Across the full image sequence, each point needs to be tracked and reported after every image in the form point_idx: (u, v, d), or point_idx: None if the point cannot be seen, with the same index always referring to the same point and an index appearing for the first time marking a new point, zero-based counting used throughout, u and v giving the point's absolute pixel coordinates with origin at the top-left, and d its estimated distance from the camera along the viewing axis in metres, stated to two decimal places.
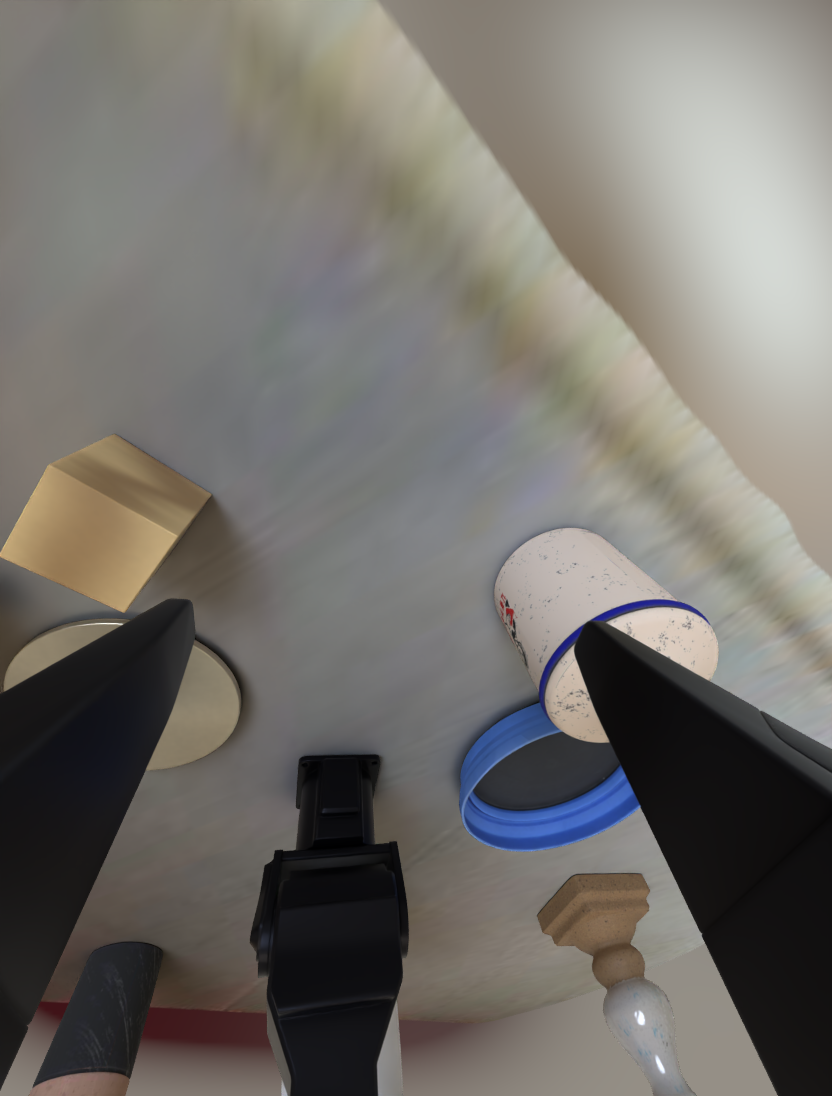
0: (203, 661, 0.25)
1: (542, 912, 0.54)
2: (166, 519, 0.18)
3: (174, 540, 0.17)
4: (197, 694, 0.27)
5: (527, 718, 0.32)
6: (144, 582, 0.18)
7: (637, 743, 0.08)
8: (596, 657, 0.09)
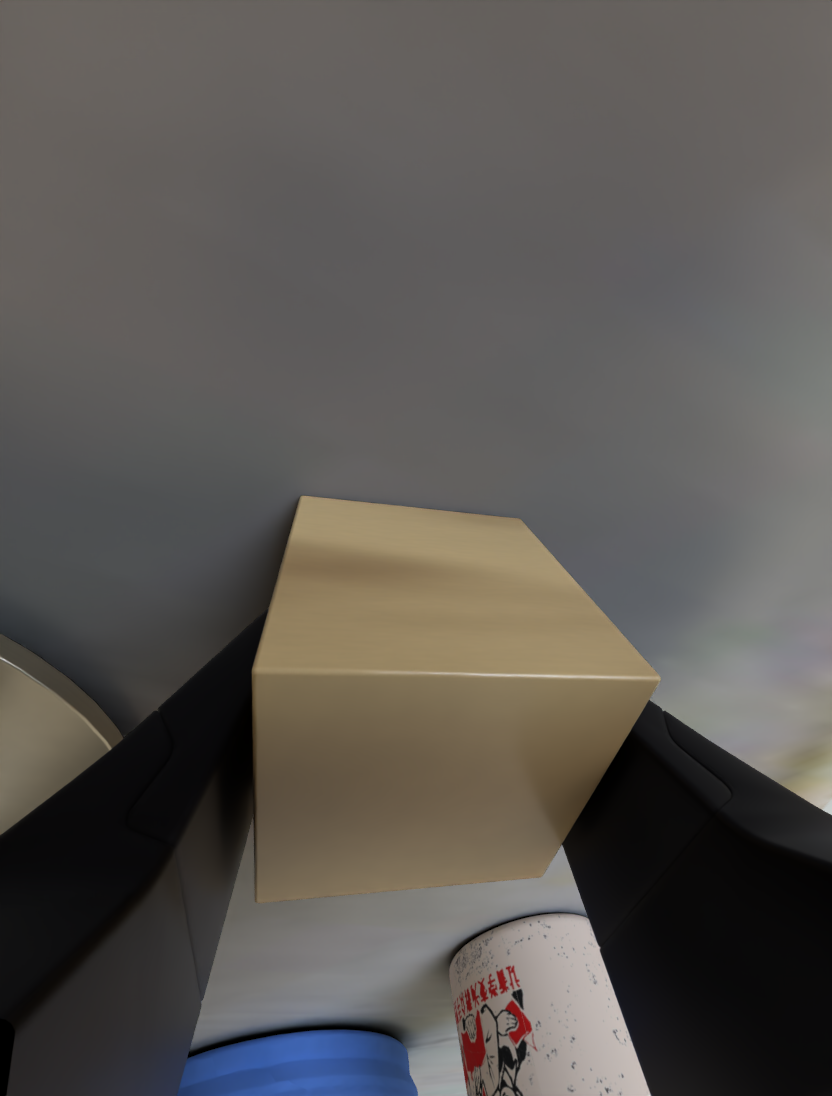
0: None
1: None
2: None
3: (528, 876, 0.07)
4: None
5: (339, 1058, 0.23)
6: (385, 891, 0.07)
7: None
8: None
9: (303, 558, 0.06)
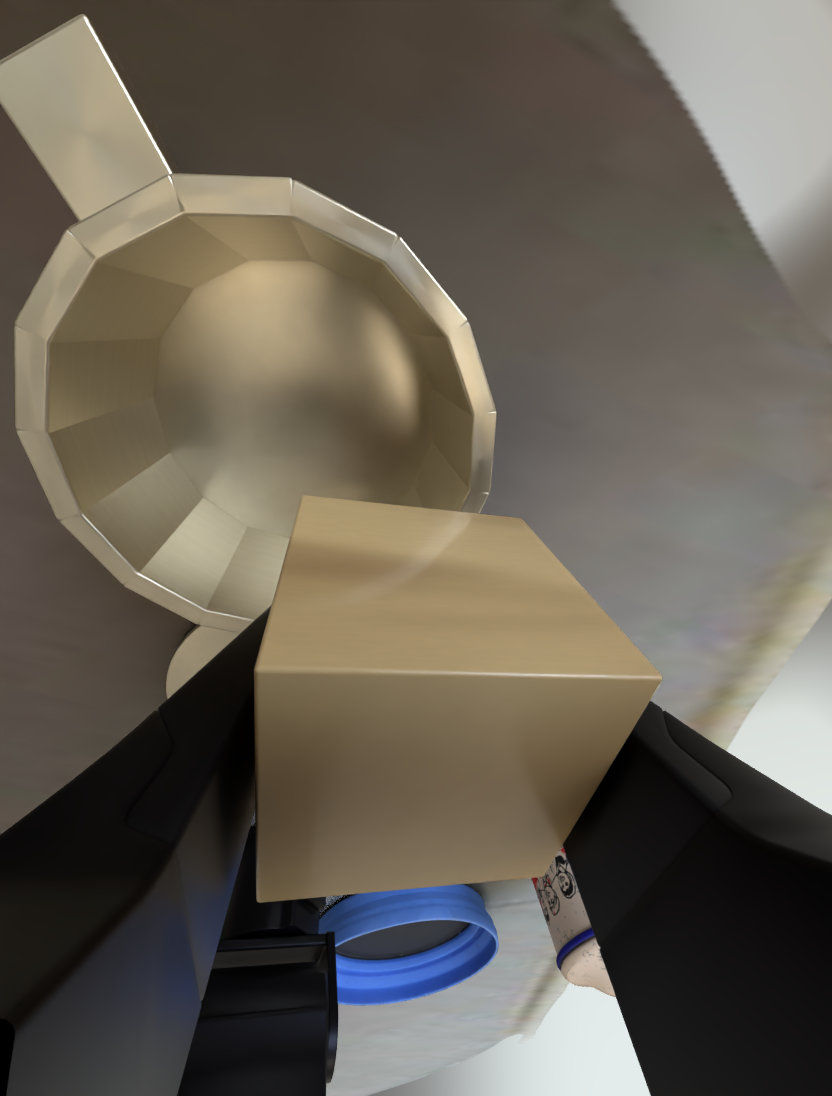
0: None
1: None
2: None
3: (529, 875, 0.07)
4: None
5: (450, 892, 0.37)
6: None
7: None
8: None
9: (305, 557, 0.06)
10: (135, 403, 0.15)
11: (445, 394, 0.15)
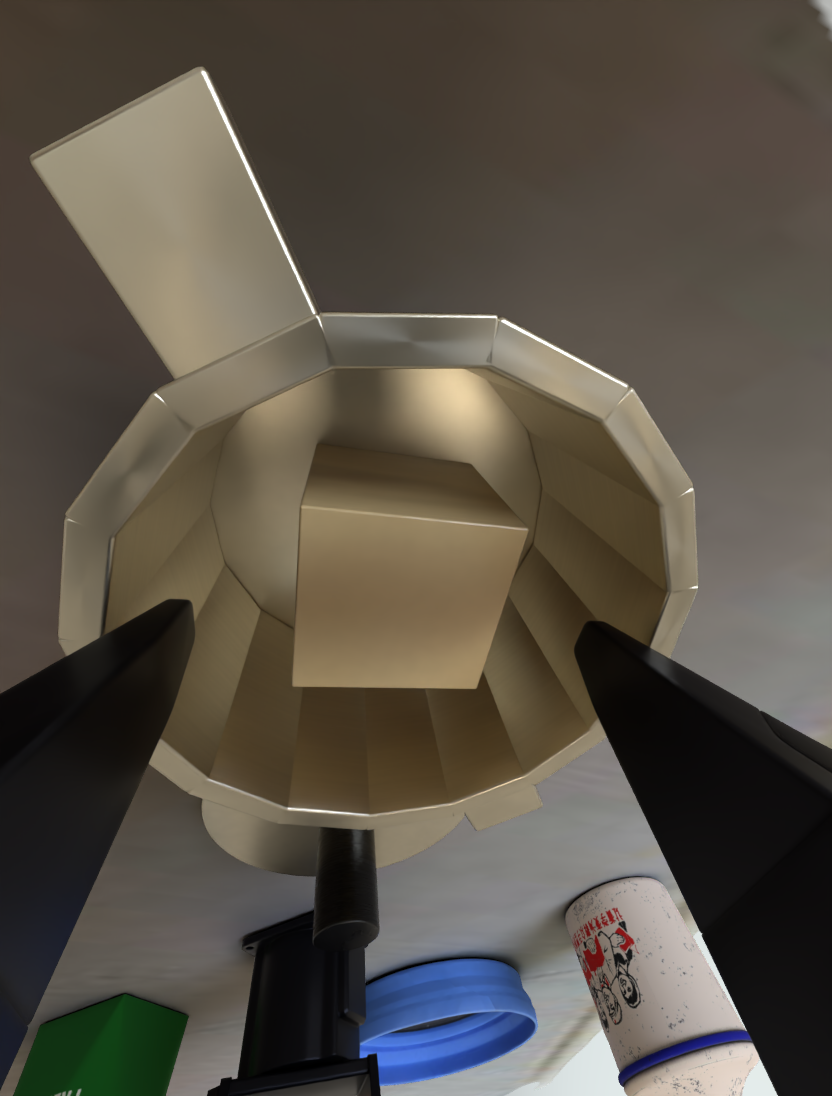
0: (450, 821, 0.22)
1: None
2: None
3: (467, 687, 0.11)
4: (398, 836, 0.22)
5: (488, 975, 0.34)
6: (373, 687, 0.11)
7: (637, 743, 0.08)
8: (596, 657, 0.09)
9: (322, 470, 0.10)
10: (193, 525, 0.11)
11: (584, 519, 0.12)
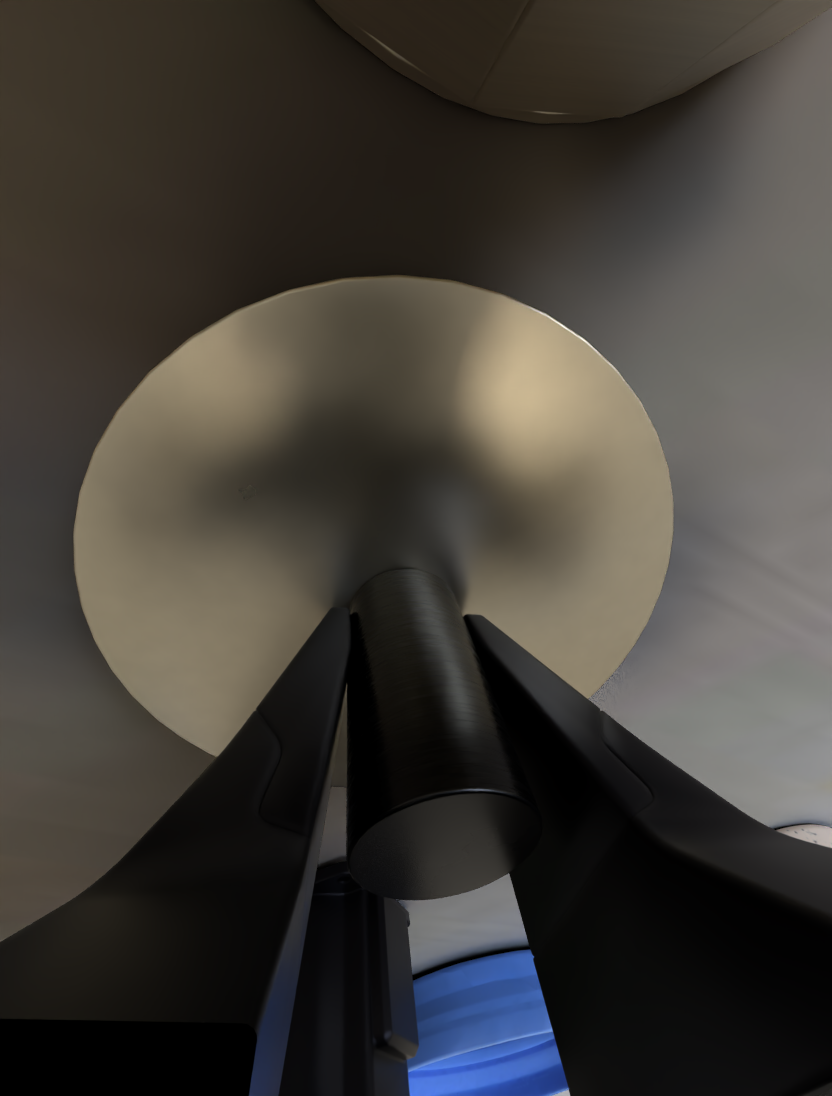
0: (592, 676, 0.12)
1: None
2: None
3: None
4: None
5: None
6: None
7: None
8: None
9: None
10: None
11: None
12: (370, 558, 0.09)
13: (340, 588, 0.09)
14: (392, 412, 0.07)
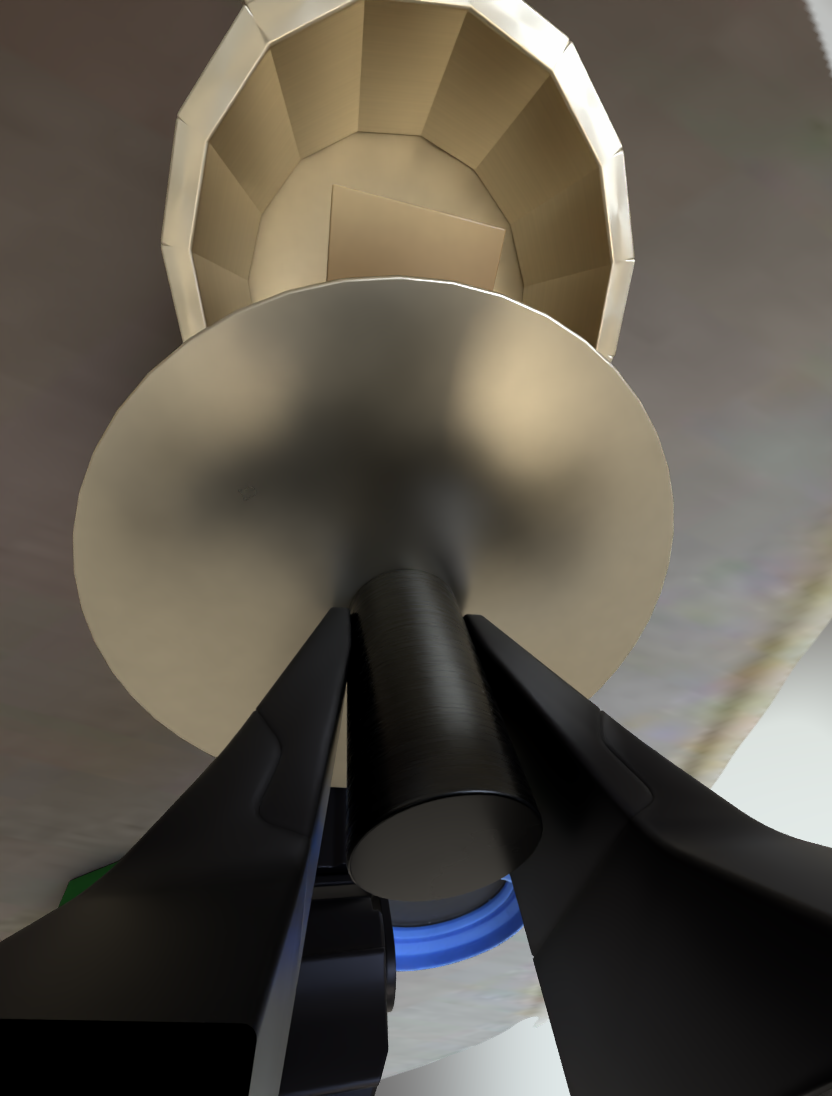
0: (592, 676, 0.12)
1: None
2: None
3: None
4: None
5: None
6: None
7: None
8: None
9: None
10: (238, 276, 0.14)
11: (554, 273, 0.14)
12: (369, 559, 0.09)
13: (339, 589, 0.09)
14: (392, 413, 0.07)
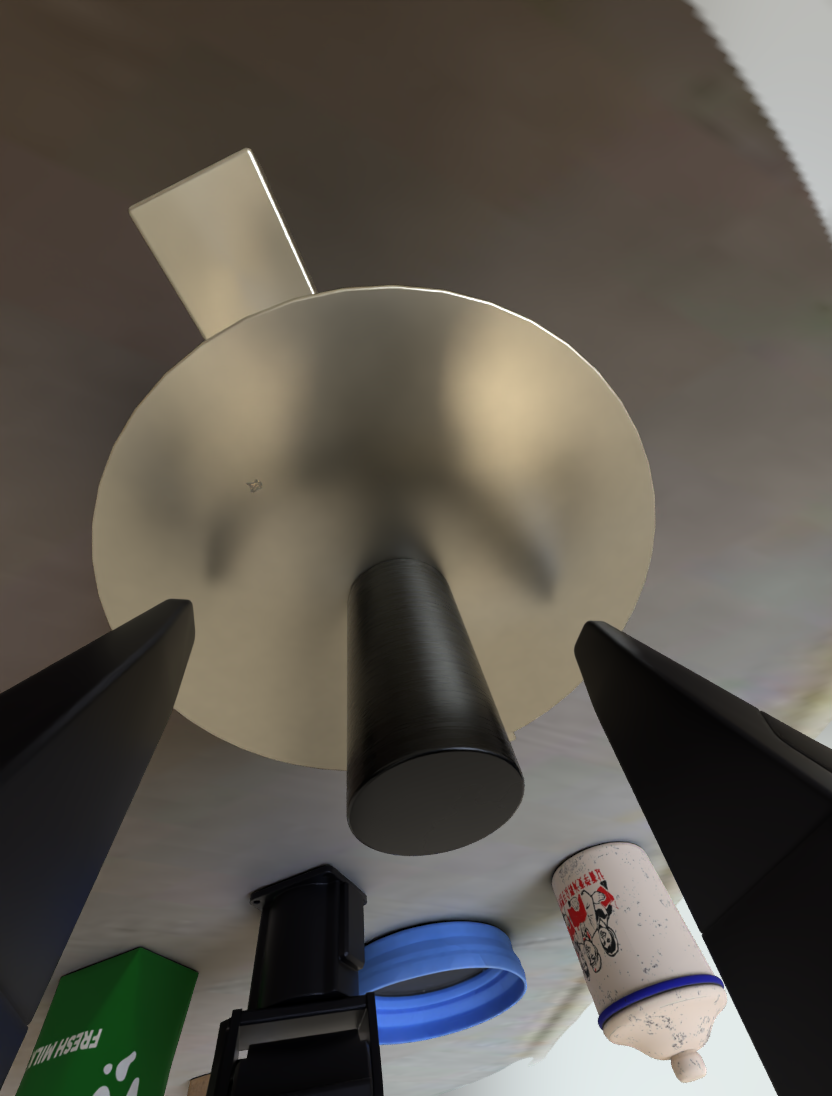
0: None
1: (203, 1079, 0.47)
2: None
3: None
4: None
5: (480, 937, 0.36)
6: None
7: (637, 743, 0.08)
8: (596, 657, 0.09)
9: None
10: None
11: None
12: (368, 548, 0.09)
13: (340, 577, 0.10)
14: (389, 411, 0.08)
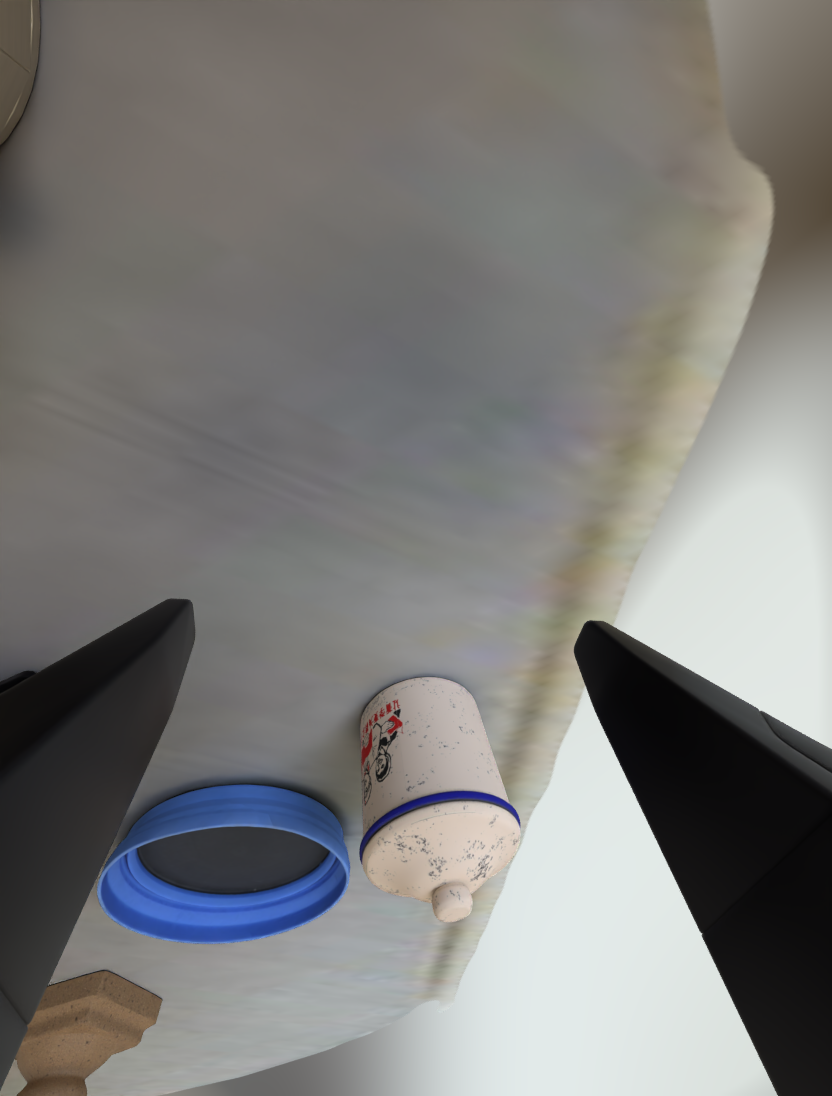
0: None
1: None
2: None
3: None
4: None
5: (281, 801, 0.30)
6: None
7: (637, 743, 0.08)
8: (596, 657, 0.09)
9: None
10: None
11: None
12: None
13: None
14: None
